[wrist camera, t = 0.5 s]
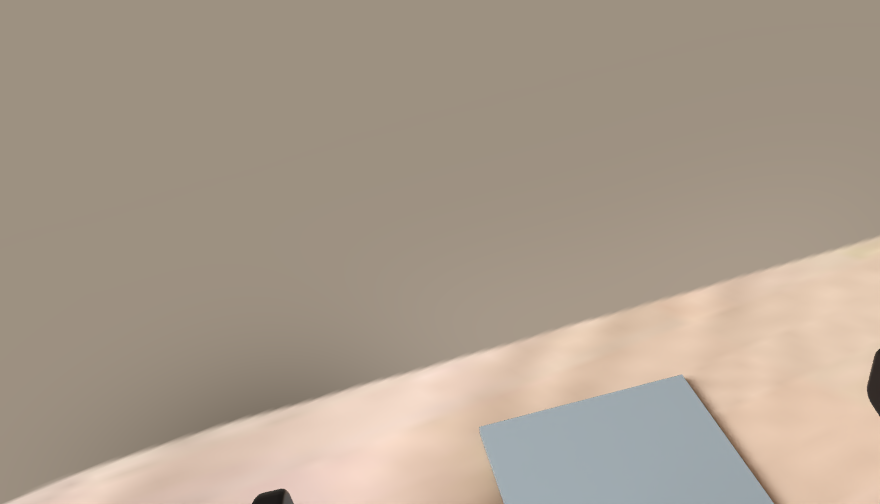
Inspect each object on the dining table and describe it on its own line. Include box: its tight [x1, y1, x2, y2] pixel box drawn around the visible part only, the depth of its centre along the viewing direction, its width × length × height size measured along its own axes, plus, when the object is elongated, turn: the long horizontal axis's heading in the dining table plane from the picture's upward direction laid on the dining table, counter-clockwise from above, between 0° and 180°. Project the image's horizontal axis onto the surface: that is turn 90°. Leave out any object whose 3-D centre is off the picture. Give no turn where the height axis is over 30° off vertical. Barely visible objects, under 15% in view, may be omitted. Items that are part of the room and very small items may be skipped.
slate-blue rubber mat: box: [479, 375, 774, 504], centre depth 26 cm, size 10×10×1 cm
